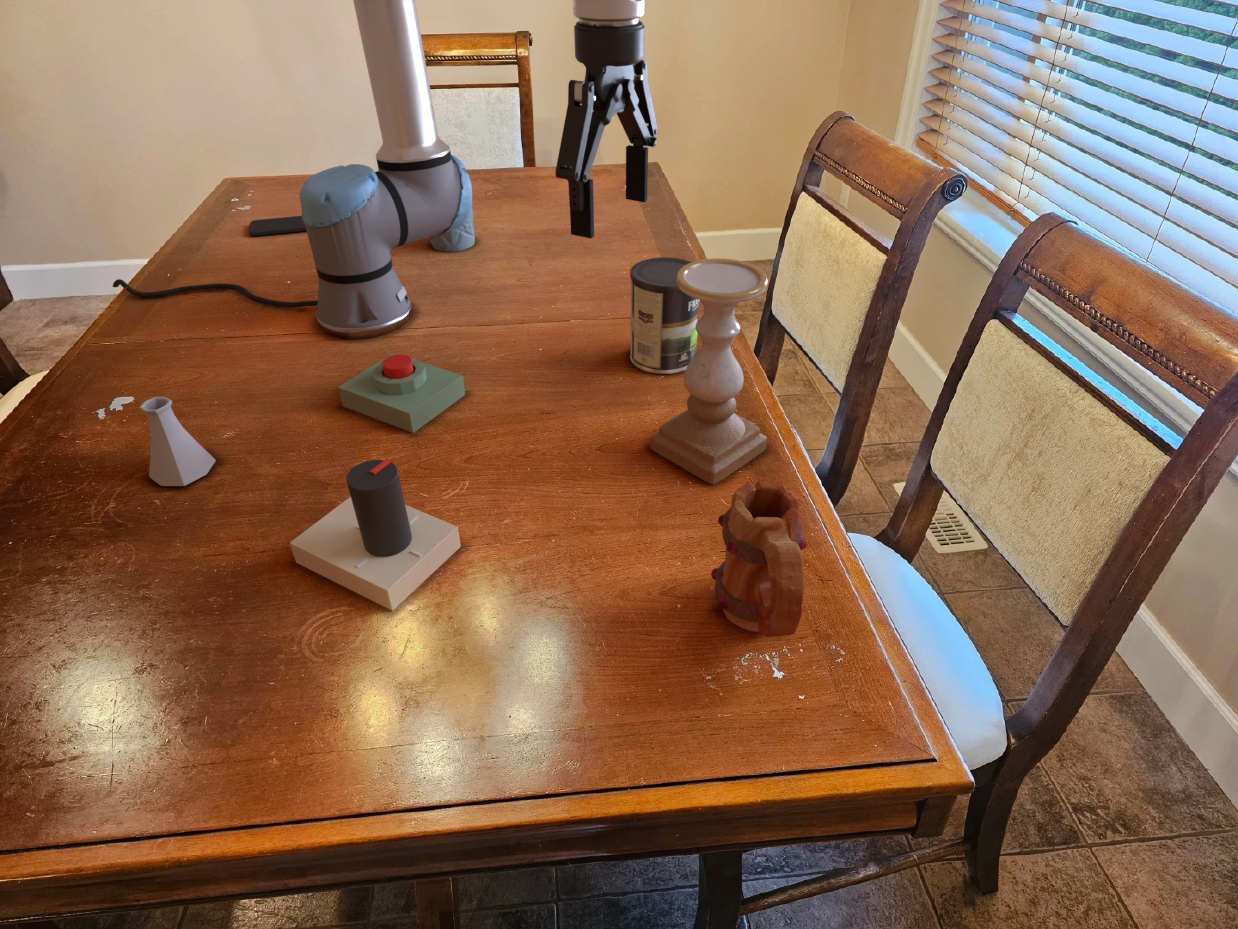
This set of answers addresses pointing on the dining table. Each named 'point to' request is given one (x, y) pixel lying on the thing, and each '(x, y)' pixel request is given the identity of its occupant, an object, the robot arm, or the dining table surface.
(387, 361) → the power button
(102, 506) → the dining table surface
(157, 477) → the flask
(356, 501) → the knob
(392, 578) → the dial panel
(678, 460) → the candle holder
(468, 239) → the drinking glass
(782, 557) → the mug
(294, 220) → the phone
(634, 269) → the coffee can
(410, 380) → the block
